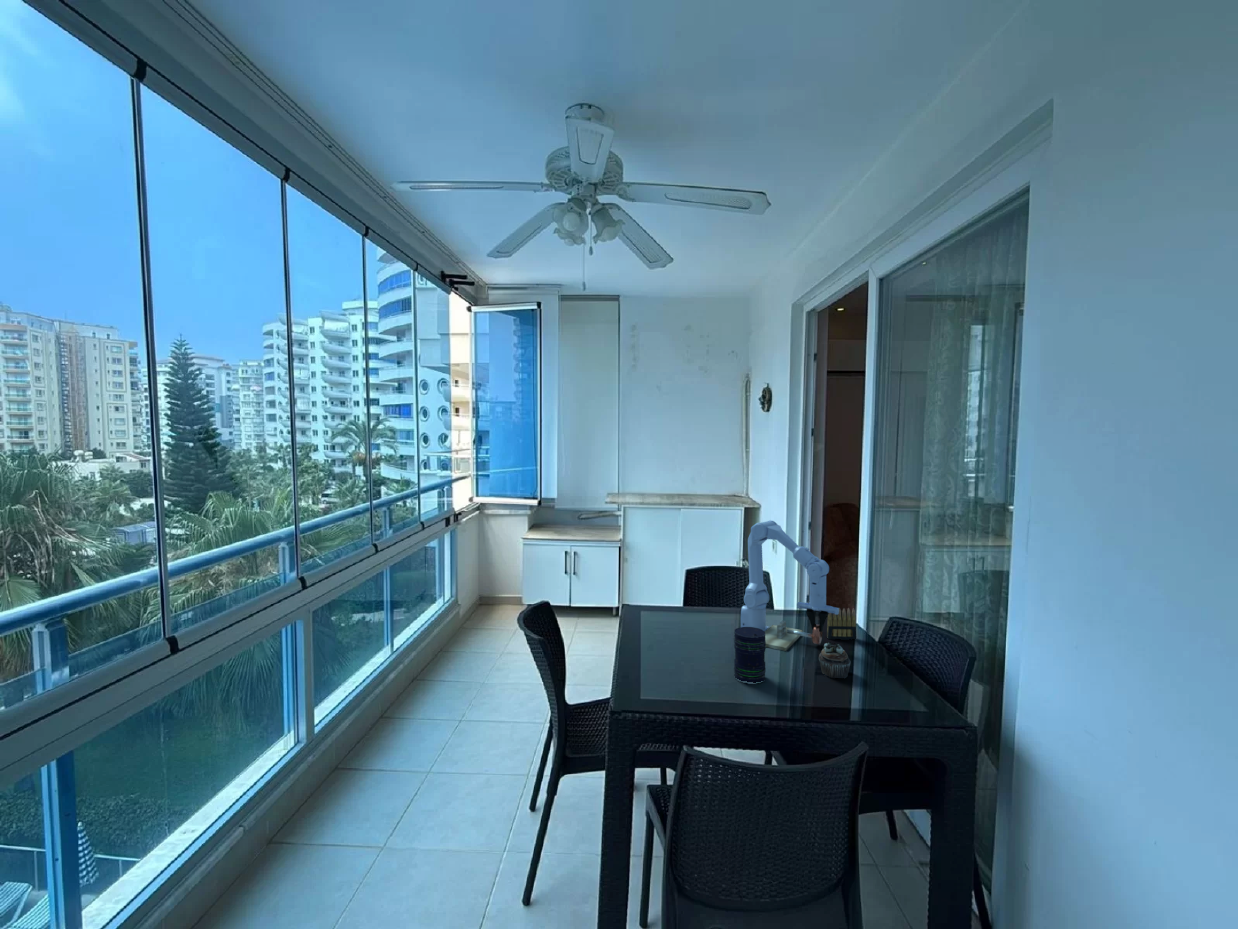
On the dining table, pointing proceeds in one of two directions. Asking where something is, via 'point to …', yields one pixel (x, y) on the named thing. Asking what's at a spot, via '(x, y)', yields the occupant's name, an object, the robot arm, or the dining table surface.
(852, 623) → the ammunition clip
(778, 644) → the eye bracket
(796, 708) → the dining table surface
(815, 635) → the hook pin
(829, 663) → the cupcake
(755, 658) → the storage jar
